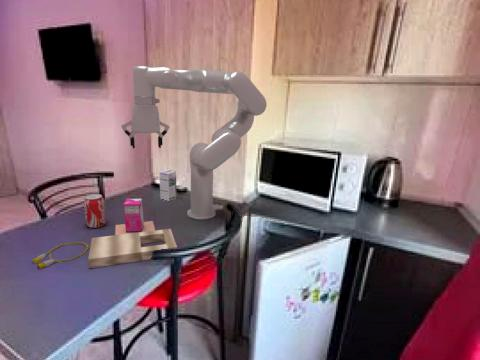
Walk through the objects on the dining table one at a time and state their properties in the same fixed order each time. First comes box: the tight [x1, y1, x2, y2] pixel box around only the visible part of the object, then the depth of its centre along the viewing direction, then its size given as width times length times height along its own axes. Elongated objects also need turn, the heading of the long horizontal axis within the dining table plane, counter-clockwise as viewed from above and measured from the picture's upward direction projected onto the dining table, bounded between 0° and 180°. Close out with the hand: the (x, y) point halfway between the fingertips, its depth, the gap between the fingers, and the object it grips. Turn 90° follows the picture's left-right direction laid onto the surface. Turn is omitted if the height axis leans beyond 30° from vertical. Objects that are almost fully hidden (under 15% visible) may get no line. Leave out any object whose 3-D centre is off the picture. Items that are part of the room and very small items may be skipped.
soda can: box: [83, 193, 107, 229], centre depth 113 cm, size 7×7×12 cm
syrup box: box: [159, 169, 178, 202], centre depth 145 cm, size 6×6×14 cm
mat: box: [114, 220, 156, 235], centre depth 112 cm, size 14×12×1 cm
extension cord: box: [31, 241, 89, 270], centre depth 94 cm, size 12×16×2 cm
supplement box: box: [123, 198, 145, 233], centre depth 110 cm, size 6×6×12 cm
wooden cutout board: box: [87, 228, 178, 269], centre depth 98 cm, size 26×14×3 cm, turn 111°
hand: (146, 147), depth 114 cm, fingers open, 9 cm apart
